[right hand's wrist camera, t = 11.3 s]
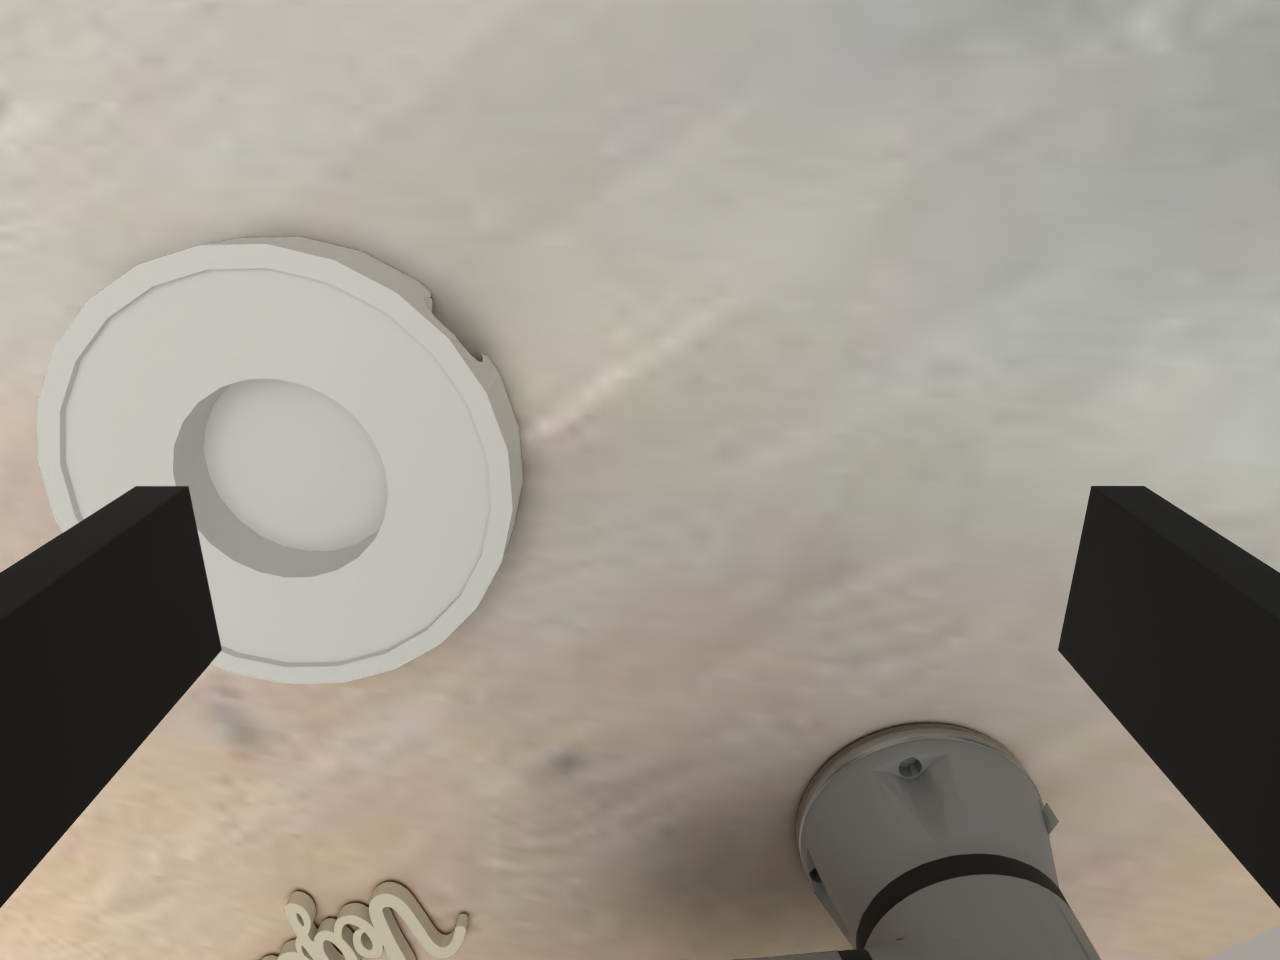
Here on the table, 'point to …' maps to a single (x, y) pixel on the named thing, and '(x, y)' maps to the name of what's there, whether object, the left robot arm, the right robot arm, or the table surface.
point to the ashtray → (293, 447)
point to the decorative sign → (366, 929)
